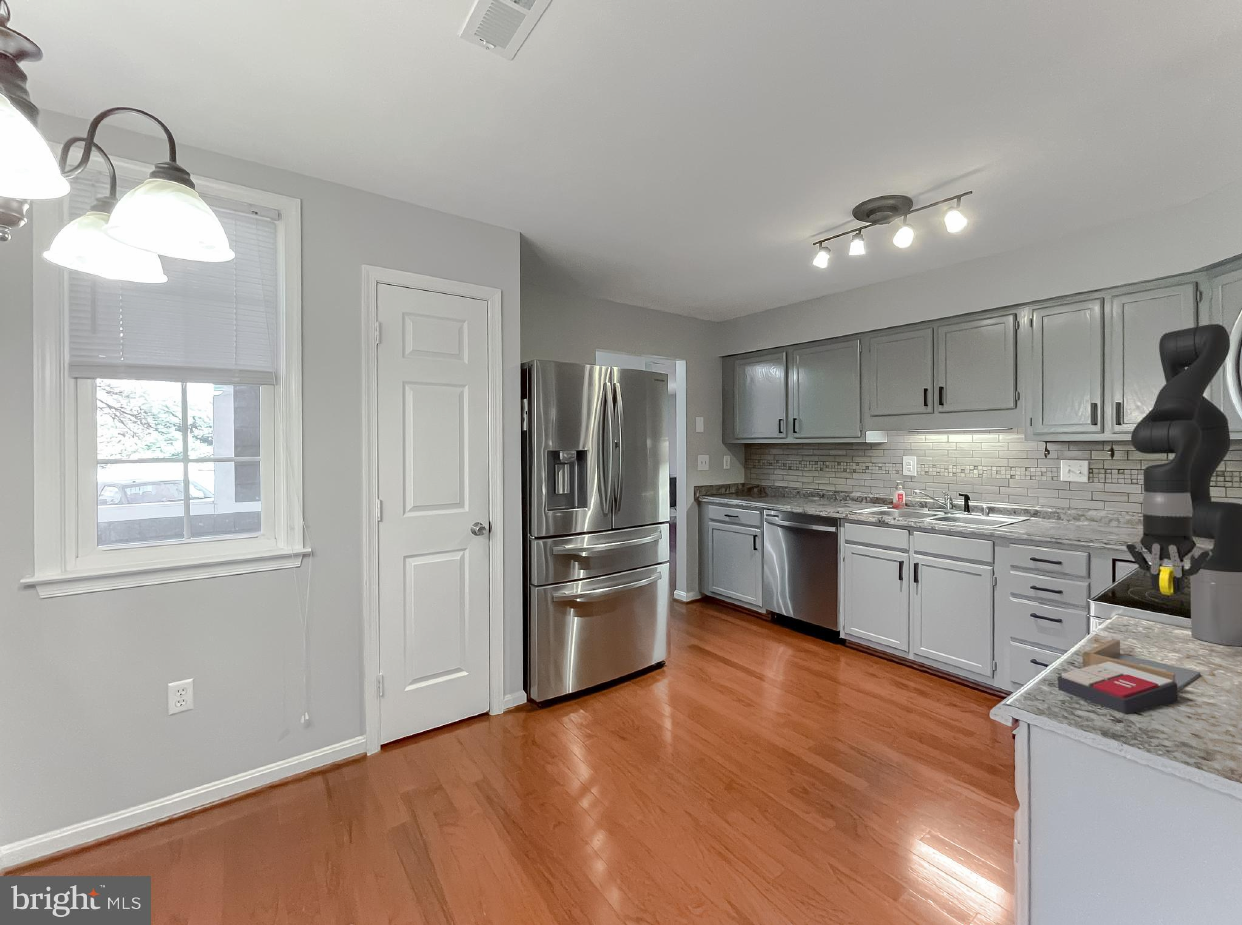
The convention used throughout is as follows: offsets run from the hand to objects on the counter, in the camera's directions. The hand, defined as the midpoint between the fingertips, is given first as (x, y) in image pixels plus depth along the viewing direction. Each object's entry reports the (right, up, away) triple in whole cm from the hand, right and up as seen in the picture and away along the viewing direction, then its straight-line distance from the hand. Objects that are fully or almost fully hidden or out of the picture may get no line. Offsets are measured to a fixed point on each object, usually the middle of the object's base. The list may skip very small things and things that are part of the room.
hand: (1168, 592), depth 116 cm
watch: (0, -1, 0) cm, 1 cm away
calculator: (-26, -16, -15) cm, 34 cm away
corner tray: (-11, -15, -6) cm, 20 cm away
